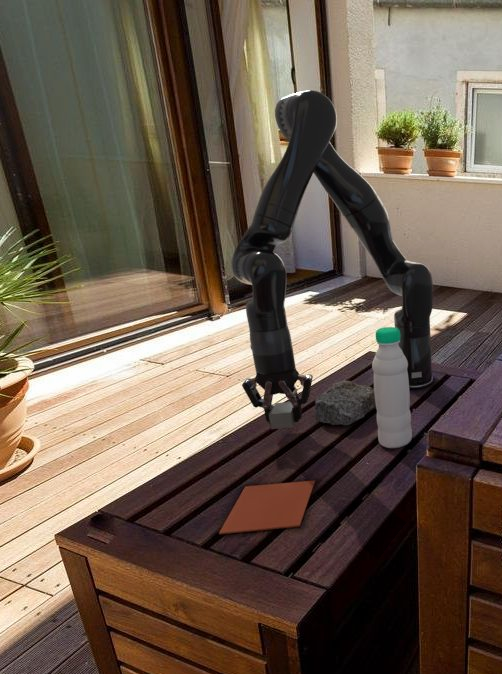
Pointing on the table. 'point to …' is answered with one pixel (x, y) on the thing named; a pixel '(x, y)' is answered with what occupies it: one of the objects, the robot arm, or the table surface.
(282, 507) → the mat
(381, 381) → the water bottle
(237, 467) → the table surface
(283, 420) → the cube
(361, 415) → the rock
